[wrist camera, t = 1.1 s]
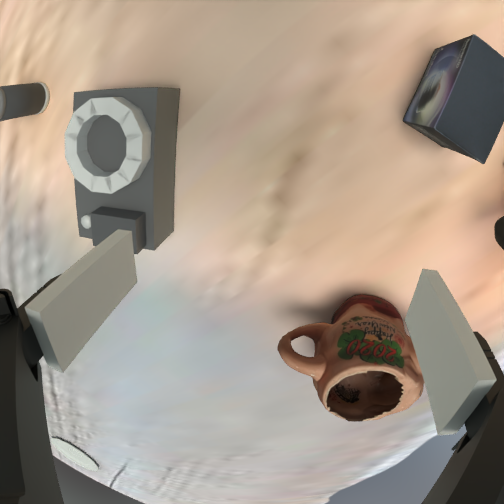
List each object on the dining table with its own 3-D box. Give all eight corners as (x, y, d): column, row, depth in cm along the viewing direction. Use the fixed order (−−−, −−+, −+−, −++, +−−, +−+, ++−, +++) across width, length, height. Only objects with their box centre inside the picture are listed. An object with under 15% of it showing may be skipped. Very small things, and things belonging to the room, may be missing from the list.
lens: (29, 84, 35) (-20, 90, 26) (50, 80, 34) (-1, 84, 25) (28, 115, 37) (-20, 125, 28) (49, 112, 37) (-1, 122, 28)
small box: (432, 45, 26) (473, 29, 17) (476, 76, 26) (525, 73, 17) (398, 120, 31) (432, 127, 22) (444, 149, 31) (487, 167, 22)
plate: (66, 456, 95) (65, 459, 94) (44, 428, 86) (42, 431, 85) (107, 473, 92) (105, 476, 91) (86, 447, 83) (84, 451, 82)
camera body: (102, 91, 34) (60, 93, 27) (180, 88, 33) (146, 86, 26) (103, 219, 42) (68, 244, 35) (173, 230, 41) (145, 259, 34)
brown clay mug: (274, 338, 46) (260, 414, 34) (293, 267, 41) (284, 340, 29) (397, 360, 45) (413, 432, 33) (431, 297, 39) (464, 368, 27)
